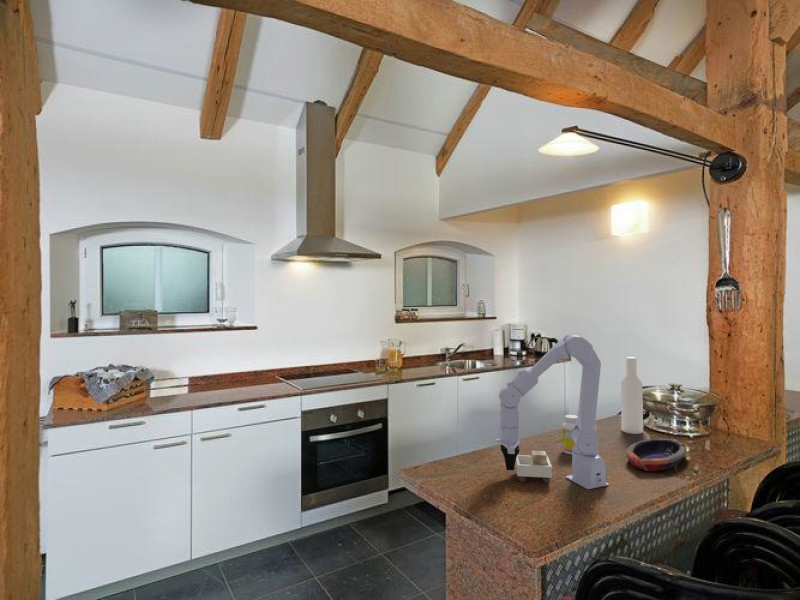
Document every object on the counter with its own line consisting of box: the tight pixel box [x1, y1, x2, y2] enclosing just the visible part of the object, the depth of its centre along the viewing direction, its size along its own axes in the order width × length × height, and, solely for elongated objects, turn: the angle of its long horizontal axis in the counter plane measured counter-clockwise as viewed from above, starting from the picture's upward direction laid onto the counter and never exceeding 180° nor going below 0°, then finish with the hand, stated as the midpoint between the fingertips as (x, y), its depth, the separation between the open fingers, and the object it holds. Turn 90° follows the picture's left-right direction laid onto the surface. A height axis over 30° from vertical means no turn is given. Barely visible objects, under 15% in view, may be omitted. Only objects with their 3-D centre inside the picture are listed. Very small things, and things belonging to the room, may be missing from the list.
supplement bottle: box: [562, 414, 578, 456], centre depth 167 cm, size 7×7×13 cm
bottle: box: [620, 356, 644, 435], centre depth 191 cm, size 8×8×30 cm
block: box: [531, 450, 548, 465], centre depth 144 cm, size 4×4×5 cm
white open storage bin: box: [515, 454, 553, 484], centre depth 144 cm, size 10×9×5 cm
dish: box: [625, 438, 687, 472], centre depth 157 cm, size 16×31×5 cm, turn 130°
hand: (510, 469), depth 145 cm, fingers closed
